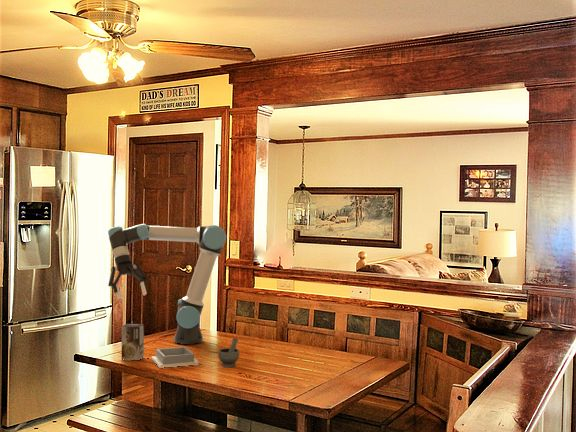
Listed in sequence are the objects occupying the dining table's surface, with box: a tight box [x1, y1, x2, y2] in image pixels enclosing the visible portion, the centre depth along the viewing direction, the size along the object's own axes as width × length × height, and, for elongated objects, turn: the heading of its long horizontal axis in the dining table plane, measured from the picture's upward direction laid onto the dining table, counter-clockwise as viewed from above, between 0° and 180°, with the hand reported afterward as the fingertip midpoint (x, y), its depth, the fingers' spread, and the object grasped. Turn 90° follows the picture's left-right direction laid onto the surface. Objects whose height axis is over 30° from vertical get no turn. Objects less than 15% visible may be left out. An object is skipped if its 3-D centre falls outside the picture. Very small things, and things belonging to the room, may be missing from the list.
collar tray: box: [150, 346, 200, 369], centre depth 282 cm, size 18×18×5 cm
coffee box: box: [121, 323, 145, 361], centre depth 287 cm, size 9×6×16 cm
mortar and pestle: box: [217, 337, 240, 368], centre depth 278 cm, size 11×9×12 cm
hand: (132, 296), depth 299 cm, fingers open, 13 cm apart
